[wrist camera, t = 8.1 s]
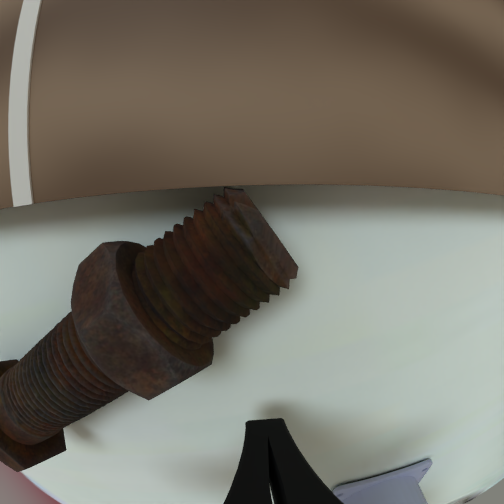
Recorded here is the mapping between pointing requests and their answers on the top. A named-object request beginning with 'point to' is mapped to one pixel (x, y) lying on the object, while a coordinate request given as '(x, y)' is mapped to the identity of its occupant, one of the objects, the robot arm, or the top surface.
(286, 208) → the top surface
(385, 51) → the plank
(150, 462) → the top surface
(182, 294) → the bolt
